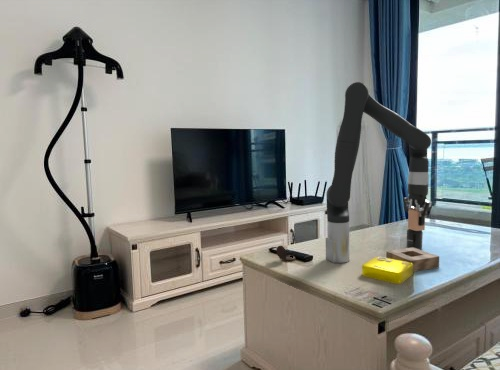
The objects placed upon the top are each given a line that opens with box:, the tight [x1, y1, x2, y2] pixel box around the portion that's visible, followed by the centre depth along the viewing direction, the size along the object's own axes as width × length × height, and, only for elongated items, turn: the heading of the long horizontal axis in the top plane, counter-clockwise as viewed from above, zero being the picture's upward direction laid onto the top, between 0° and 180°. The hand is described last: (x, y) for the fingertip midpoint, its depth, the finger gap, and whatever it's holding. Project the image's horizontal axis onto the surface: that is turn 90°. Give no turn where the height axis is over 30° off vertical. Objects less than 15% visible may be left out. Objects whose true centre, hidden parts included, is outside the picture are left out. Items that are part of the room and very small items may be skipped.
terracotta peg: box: [407, 209, 426, 231], centre depth 145 cm, size 4×4×8 cm
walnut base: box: [385, 247, 440, 273], centre depth 146 cm, size 14×14×4 cm
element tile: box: [361, 256, 414, 285], centre depth 136 cm, size 15×15×5 cm
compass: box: [276, 244, 296, 263], centre depth 157 cm, size 8×8×7 cm
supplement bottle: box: [405, 228, 424, 250], centre depth 167 cm, size 7×7×12 cm
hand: (416, 224), depth 145 cm, fingers closed on terracotta peg, 4 cm apart
